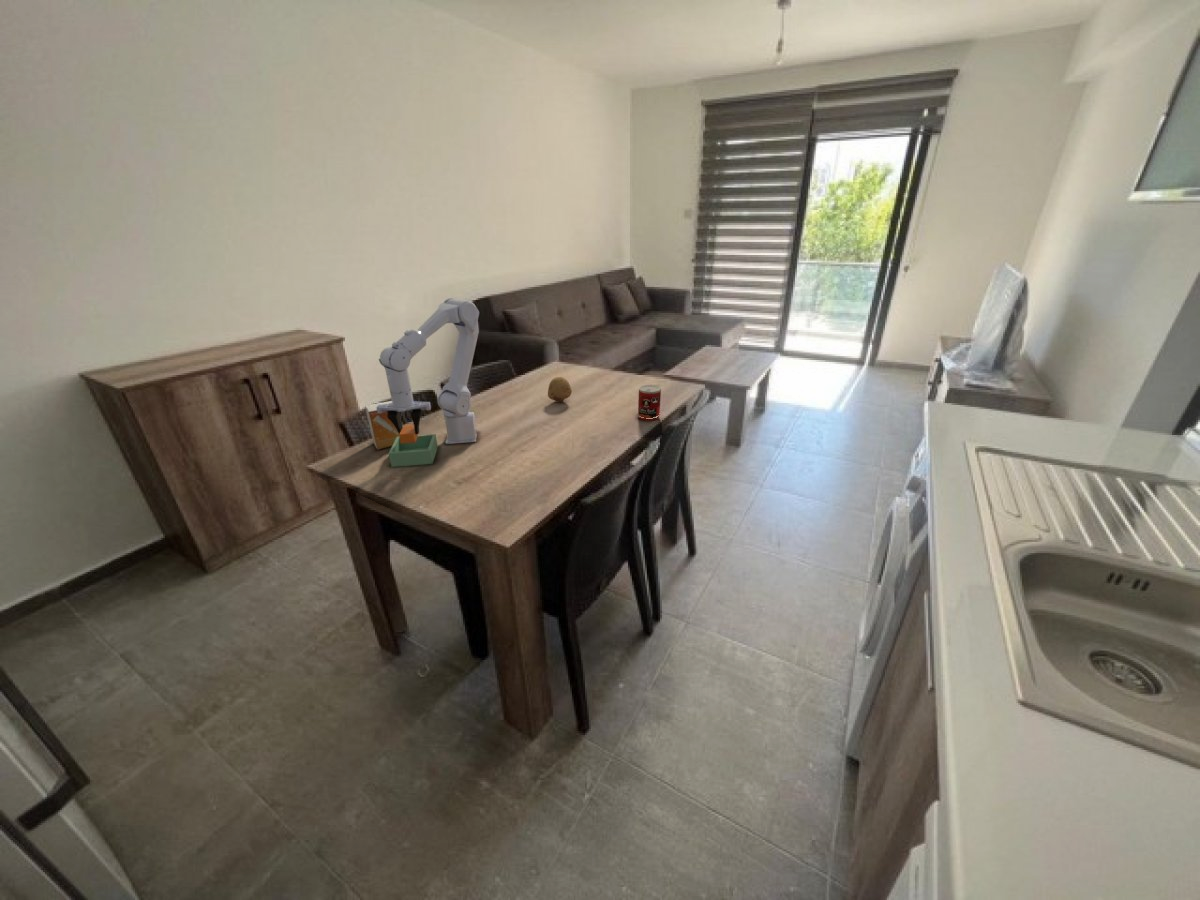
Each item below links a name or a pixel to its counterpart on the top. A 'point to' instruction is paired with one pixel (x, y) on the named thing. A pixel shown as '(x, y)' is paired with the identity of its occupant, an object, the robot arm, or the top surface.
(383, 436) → the small box
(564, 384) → the natural sponge
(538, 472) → the top surface
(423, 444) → the green open-top bin
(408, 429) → the packet
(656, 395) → the canned food
